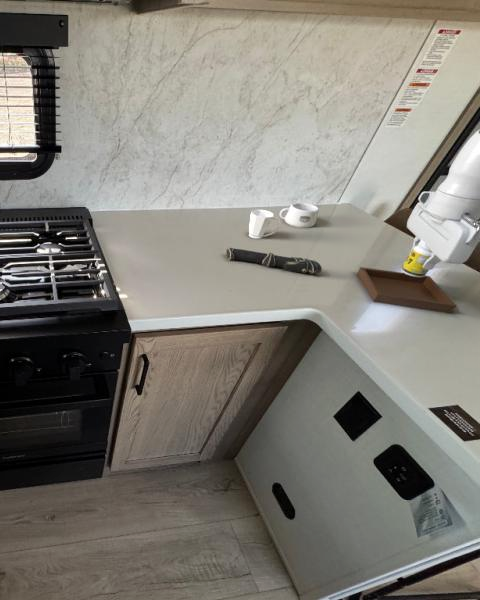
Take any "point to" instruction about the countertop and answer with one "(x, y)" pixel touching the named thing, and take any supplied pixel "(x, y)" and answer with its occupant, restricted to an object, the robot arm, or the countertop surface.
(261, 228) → the cup
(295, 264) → the twine-tied cloth roll
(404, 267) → the supplement bottle
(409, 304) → the tray
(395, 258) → the countertop surface
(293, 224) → the mug
